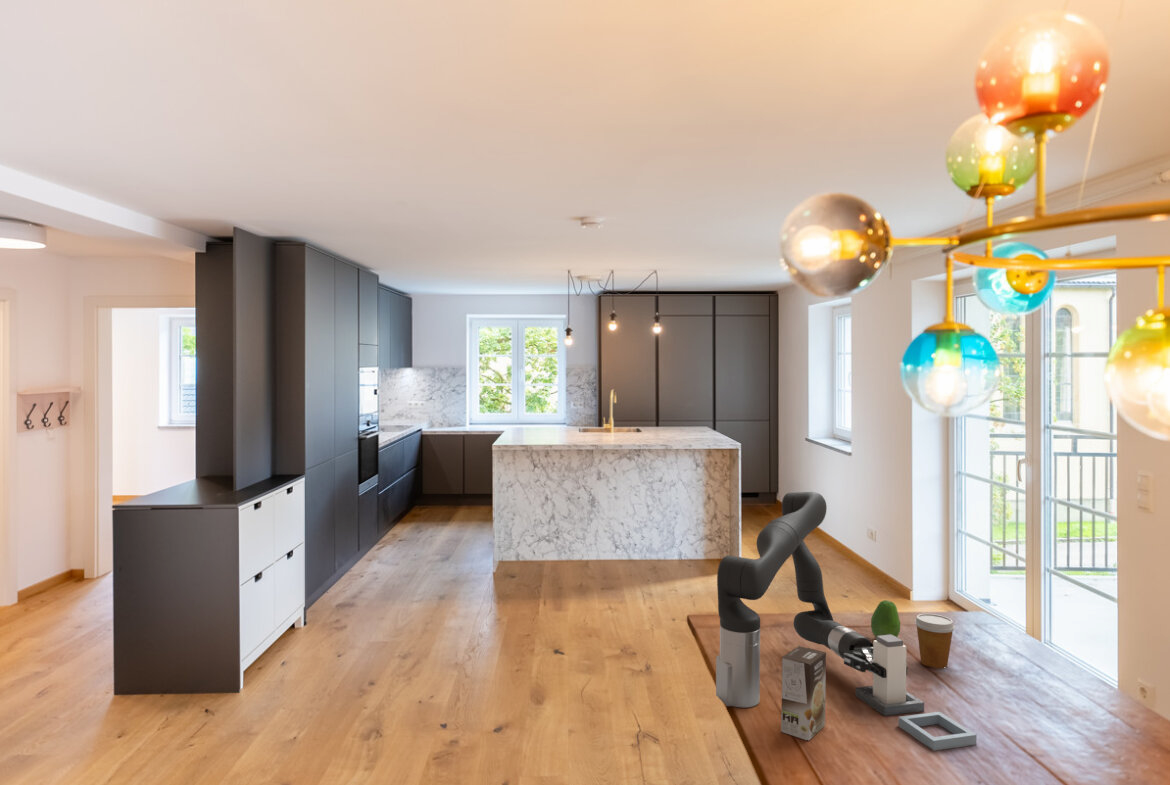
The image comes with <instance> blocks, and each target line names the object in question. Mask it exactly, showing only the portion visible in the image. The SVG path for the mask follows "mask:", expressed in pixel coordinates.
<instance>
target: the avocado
mask: <svg viewBox="0 0 1170 785" xmlns="http://www.w3.org/2000/svg"><path fill="white" fill-rule="evenodd" d="M870 619H871V620H870V627H871V632H872V634H873V636H874V637H875V639H876V640H877V636H881V635H893V636H895V637H897V638H899V637H898V636H899V635H900V632H901V620H900V616H899V612H898V608H897V605H896V604H895V603H894V602H893V601H890V600H882V601H880V602H879V603H878V604H877V606H876V608H875V609H874V610H873V613H872V615H871V618H870Z"/></svg>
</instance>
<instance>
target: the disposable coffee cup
mask: <svg viewBox="0 0 1170 785" xmlns="http://www.w3.org/2000/svg"><path fill="white" fill-rule="evenodd" d="M914 623H915V626H916V632H917V638H918V640H917V641H918V648H919V656H920V657H919V658H920V663H921V664H922V665H924V666H925V667H928V666H929V668H932V667H934V668H933V669H939V668H942V669H945V668H944V667H946V668H948V664H949V658H950V652H951V645H952V644H951V643H952V639H953V638H952V637H953V632H954V629H955V628H956V626H955V624H954V621H953V620H952V619H951V618H950V617H947V616H944V615H940V614H937V613H936V614H934V613H920V614H917V616H916V618H915V619H914Z"/></svg>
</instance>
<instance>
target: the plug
mask: <svg viewBox="0 0 1170 785" xmlns="http://www.w3.org/2000/svg"><path fill="white" fill-rule="evenodd" d="M872 643H873V661H874V663H877V664H879V665H881V666H882V667H884V668H885V669H886V678H882V677H880V676H878V675H877V674H875V673H874V672H873V673H872V686H873V696H874V697H876V698H877V699H879V700H880V701H882V702H883V703H885V704H892V703H900V702H906V691H907V676H906V666H907V646H906V645H905V644H904V640H902V639H901V638H899V637H895V636H893V635H881V636H877V639H876V640H873V642H872Z"/></svg>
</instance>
